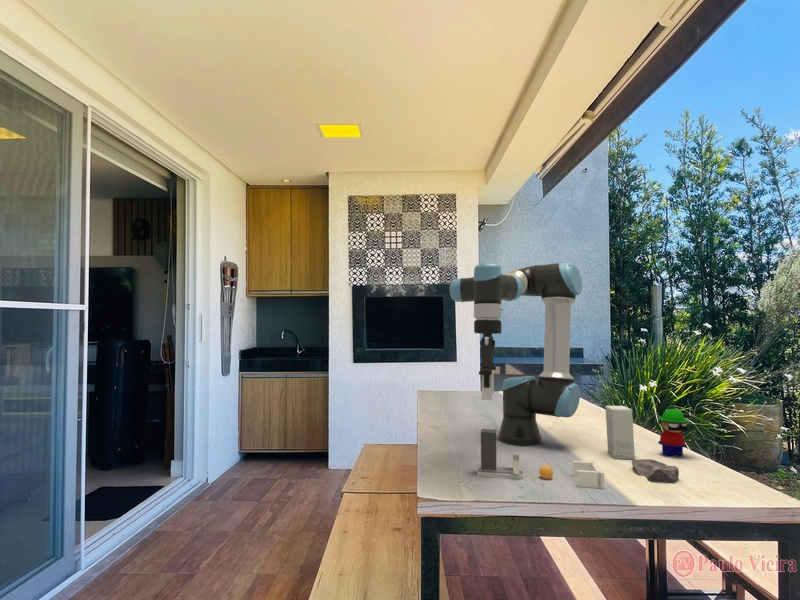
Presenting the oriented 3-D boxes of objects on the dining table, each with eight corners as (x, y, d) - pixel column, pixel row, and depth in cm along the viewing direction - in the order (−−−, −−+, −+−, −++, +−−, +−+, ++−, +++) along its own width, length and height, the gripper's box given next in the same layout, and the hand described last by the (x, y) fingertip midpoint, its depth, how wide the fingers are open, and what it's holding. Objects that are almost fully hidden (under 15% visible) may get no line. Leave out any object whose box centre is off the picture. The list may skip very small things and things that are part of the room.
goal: (577, 487, 115) (577, 471, 115) (572, 475, 124) (572, 460, 124) (604, 489, 113) (604, 473, 113) (597, 477, 122) (596, 462, 123)
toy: (686, 453, 150) (685, 407, 150) (694, 460, 141) (693, 412, 142) (655, 451, 152) (654, 405, 153) (662, 458, 144) (660, 410, 145)
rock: (684, 485, 120) (684, 467, 120) (637, 481, 123) (636, 464, 123) (674, 476, 127) (674, 459, 128) (630, 472, 130) (629, 456, 131)
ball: (536, 478, 121) (536, 464, 122) (545, 476, 123) (545, 462, 124) (546, 482, 118) (546, 468, 119) (555, 479, 120) (555, 466, 121)
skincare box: (635, 460, 142) (633, 409, 143) (612, 459, 143) (611, 408, 144) (627, 453, 150) (626, 405, 151) (606, 451, 151) (604, 404, 152)
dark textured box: (480, 476, 122) (480, 432, 123) (482, 469, 128) (481, 428, 128) (519, 479, 120) (518, 435, 120) (518, 472, 125) (518, 430, 126)
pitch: (468, 485, 119) (468, 476, 119) (472, 469, 132) (472, 461, 132) (608, 497, 111) (608, 487, 111) (597, 478, 124) (597, 470, 125)
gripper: (500, 318, 114) (501, 404, 113) (501, 320, 138) (502, 390, 137) (470, 318, 116) (470, 402, 114) (477, 320, 140) (477, 389, 139)
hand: (488, 396), depth 126 cm, fingers open, 13 cm apart
